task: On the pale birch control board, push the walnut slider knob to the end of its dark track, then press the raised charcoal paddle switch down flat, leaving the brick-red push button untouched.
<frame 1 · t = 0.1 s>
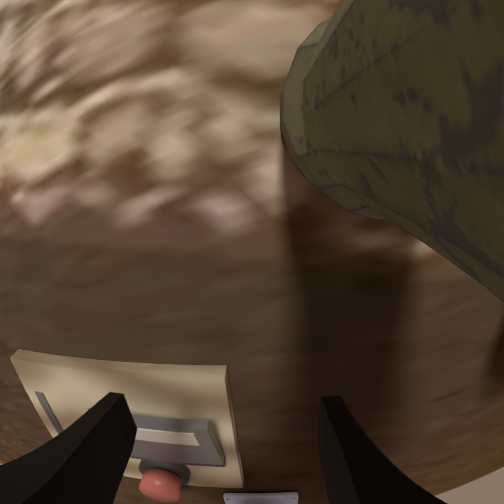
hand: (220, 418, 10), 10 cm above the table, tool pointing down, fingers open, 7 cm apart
paddle switch: (157, 441, 20), point 3 cm above the table, hinge at -15.0°
push button: (160, 486, 22), point 4 cm above the table, slide at 0.0 cm
thermos: (353, 122, 17), on the table
control panel: (128, 424, 25), on the table
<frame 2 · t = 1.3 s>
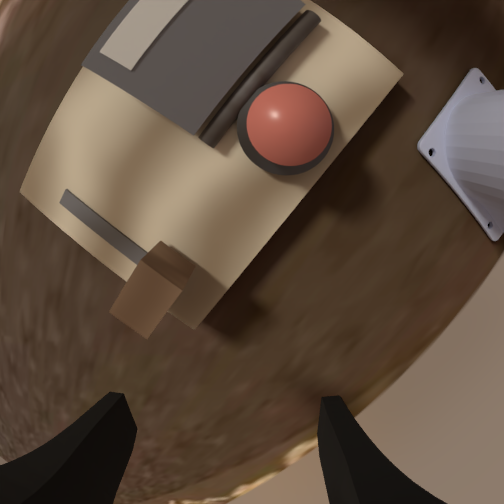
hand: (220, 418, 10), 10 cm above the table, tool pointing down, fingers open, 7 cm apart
paddle switch: (192, 25, 13), point 3 cm above the table, hinge at -15.0°
push button: (288, 125, 14), point 4 cm above the table, slide at 0.0 cm
control panel: (190, 122, 17), on the table
slider knob: (153, 288, 17), point 4 cm above the table, slide at 0.0 cm
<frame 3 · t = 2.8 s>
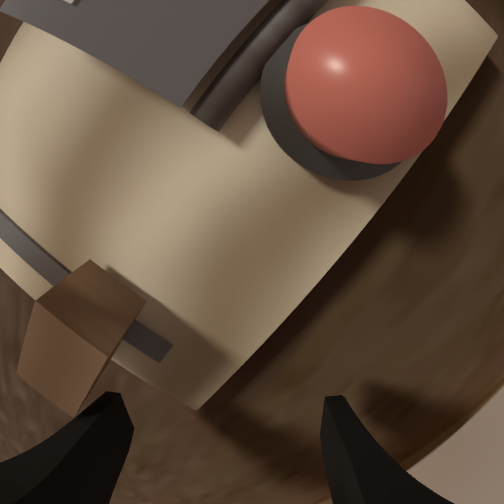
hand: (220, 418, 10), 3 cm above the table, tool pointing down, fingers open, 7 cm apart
push button: (363, 87, 6), point 4 cm above the table, slide at 0.0 cm
control panel: (177, 93, 10), on the table
slider knob: (78, 339, 9), point 4 cm above the table, slide at 1.9 cm, touching gripper
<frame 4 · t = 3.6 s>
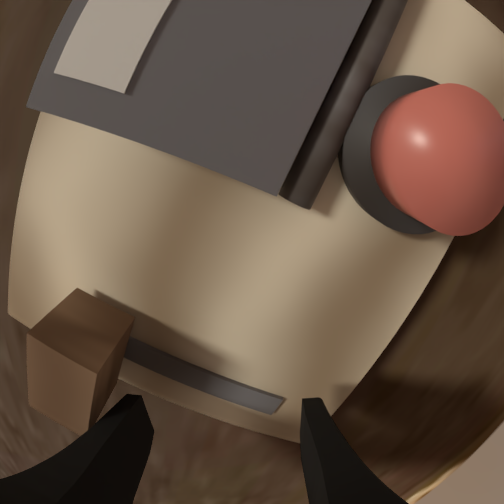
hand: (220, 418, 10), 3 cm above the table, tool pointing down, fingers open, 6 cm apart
push button: (444, 157, 7), point 4 cm above the table, slide at 0.0 cm
control panel: (244, 163, 11), on the table
slider knob: (78, 363, 9), point 4 cm above the table, slide at 6.5 cm, touching gripper
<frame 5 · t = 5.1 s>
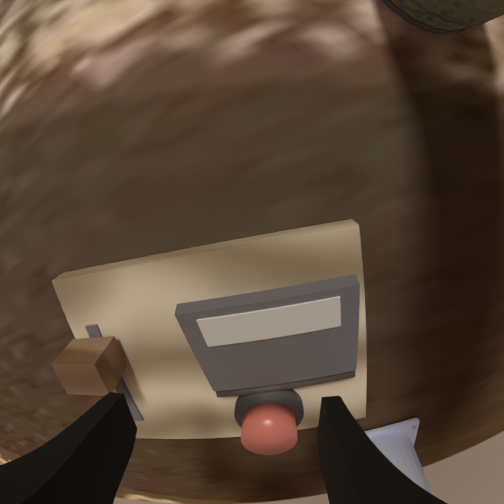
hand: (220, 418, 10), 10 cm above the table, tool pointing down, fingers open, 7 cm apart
paddle switch: (276, 343, 17), point 3 cm above the table, hinge at -15.0°
push button: (269, 430, 19), point 4 cm above the table, slide at 0.0 cm
control panel: (217, 351, 21), on the table
slider knob: (89, 365, 18), point 4 cm above the table, slide at 6.1 cm
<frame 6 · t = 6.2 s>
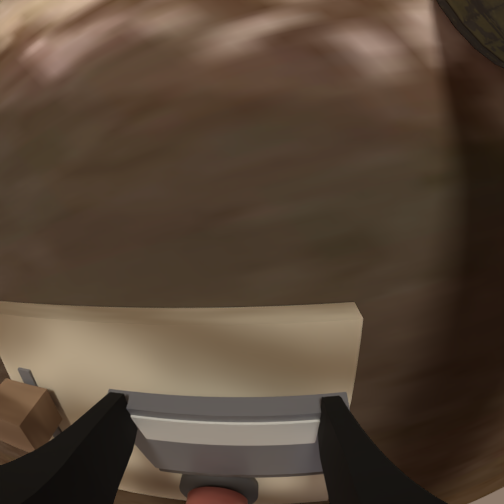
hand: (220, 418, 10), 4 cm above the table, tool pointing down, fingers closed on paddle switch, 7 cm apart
paddle switch: (231, 445, 12), point 3 cm above the table, hinge at -14.8°, touching gripper
control panel: (166, 420, 16), on the table
slider knob: (20, 415, 13), point 4 cm above the table, slide at 6.1 cm
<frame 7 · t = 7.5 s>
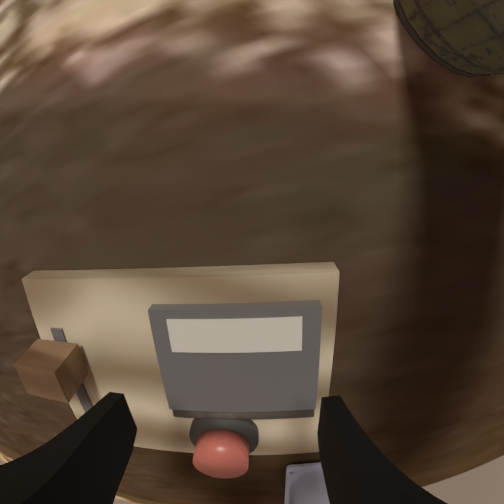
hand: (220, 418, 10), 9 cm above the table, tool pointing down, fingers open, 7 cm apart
paddle switch: (237, 363, 17), point 2 cm above the table, hinge at 3.5°
push button: (221, 455, 18), point 4 cm above the table, slide at 0.0 cm
thermos: (451, 14, 13), on the table
control panel: (179, 371, 21), on the table
slider knob: (51, 369, 17), point 4 cm above the table, slide at 6.1 cm
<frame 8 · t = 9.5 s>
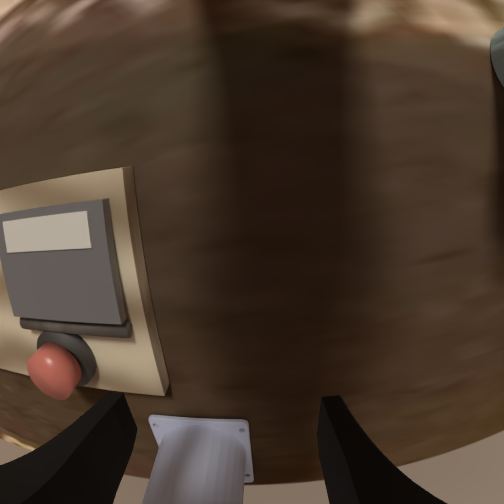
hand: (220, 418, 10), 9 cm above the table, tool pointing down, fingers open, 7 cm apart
paddle switch: (51, 265, 17), point 2 cm above the table, hinge at 4.1°
push button: (53, 371, 18), point 4 cm above the table, slide at 0.0 cm
control panel: (33, 288, 20), on the table
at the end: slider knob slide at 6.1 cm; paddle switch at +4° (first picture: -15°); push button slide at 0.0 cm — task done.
